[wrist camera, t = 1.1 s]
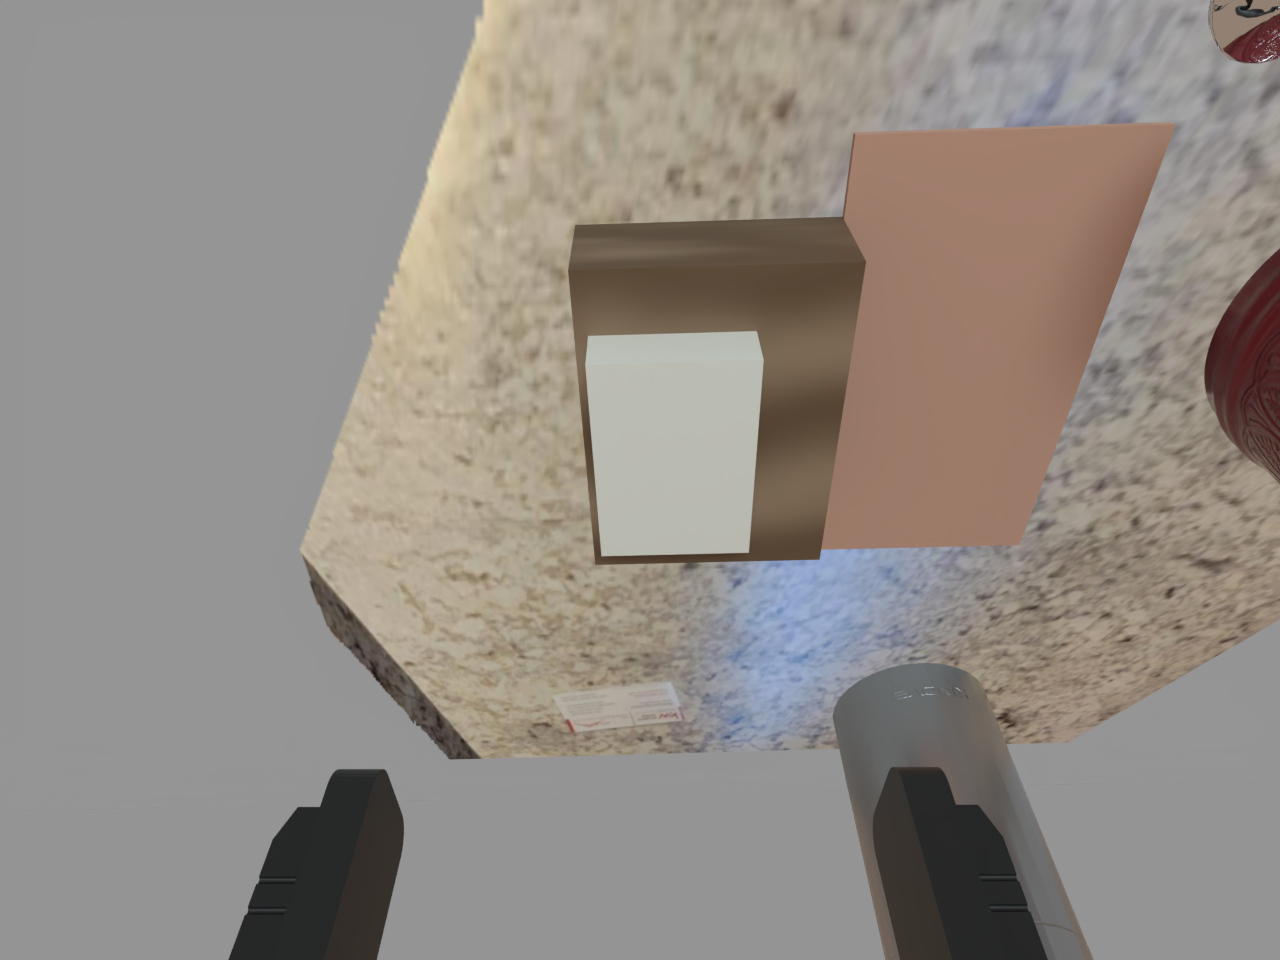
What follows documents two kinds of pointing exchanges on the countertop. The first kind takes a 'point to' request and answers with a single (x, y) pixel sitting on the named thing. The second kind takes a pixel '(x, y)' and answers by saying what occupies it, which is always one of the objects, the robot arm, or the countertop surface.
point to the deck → (737, 302)
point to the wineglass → (1246, 29)
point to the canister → (1249, 368)
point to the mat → (975, 319)
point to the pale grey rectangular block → (674, 440)
